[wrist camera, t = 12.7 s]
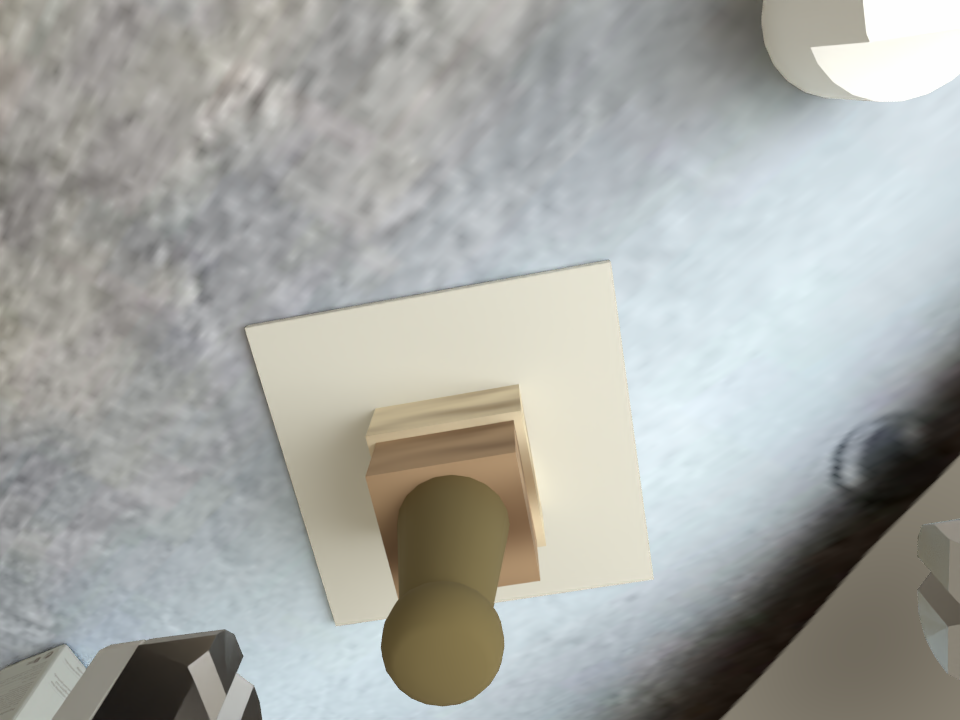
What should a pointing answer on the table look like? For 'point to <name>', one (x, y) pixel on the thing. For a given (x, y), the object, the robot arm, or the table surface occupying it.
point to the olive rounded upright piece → (447, 591)
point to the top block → (464, 454)
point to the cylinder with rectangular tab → (864, 46)
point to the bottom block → (458, 416)
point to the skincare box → (38, 684)
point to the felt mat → (451, 371)
